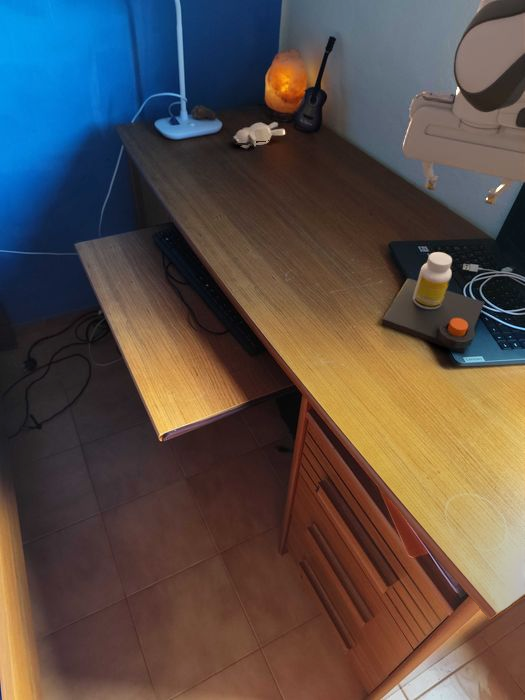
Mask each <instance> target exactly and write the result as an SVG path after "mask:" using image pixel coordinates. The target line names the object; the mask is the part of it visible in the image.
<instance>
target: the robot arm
mask: <svg viewBox="0 0 525 700" xmlns="http://www.w3.org/2000/svg"><path fill="white" fill-rule="evenodd" d="M453 76H454V80H455V83H456V88H457V89H456V92H455V94H454V93H449V92H448V93H447V92H436V91H434V90H424V91H423V92H420V93H418V94H416V95H415V96H414V97H413V98H412V101H411V102H410V107H409V113H408V115H409V119H410V122H409V124H408V127H407V130H406V134H405V136H404V140H403V144H402V147H401V150H402V152H403V155H404V156H405V157H406V158H408V159H412V160H418V161H422V164H421V169H422V172H423V175H424V176H425V183H424V187H423V188H424V189H425V190H431V191H435V188H436V187H437V186H438V181H439V175H435V173H434V170H433V166H434V165H435V164H437V165H442V166H446V167H450V168H455V169H460V170H465V171H470V172H475V173H479V174H484V175H488V176H493V177H497V178H501V181H500V185H499V186H498V187H497V188H493V187H491V188H490V189H489V191H488V193H487V196H486V199H485V201H484V203H486V204H489V205H492V206H493V205H494V206H496V204H497V202H498V200H499V197H500V195H502V194H503V193H504V192H505V191H506V190H508V189H509V188H510V187H511V186H512V184H513V182H514V181H515V182H521V183H525V0H480V2H479V5H478V9H477V13H476V14H475V15H474V16H473V18H472V19H471V21H470V22H469V24H468V25H467V27H466V28H465V30H464V31H463V33H462V35H461V36H460V39H459V42H458V43H457V47H456V50H455V52H454V58H453Z"/></svg>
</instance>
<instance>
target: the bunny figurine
mask: <svg viewBox="0 0 525 700" xmlns="http://www.w3.org/2000/svg"><path fill="white" fill-rule="evenodd" d="M278 127H279V123H278V122H277V121H273V122H271V123H270V124H268V125H267V124H265V123H263V122H256V123H254V124H252V125H251V126H250V127H243V128H242V129H239V130H238V131H237V132H236V134H235V135H234V136H233V140H234V139H235V140H236V141H237V143H247V142H251V143H252V144H253V145H254V146H253V145H252V144H251V143H250V144H248V145H242V146H241V148H243V149H248V148H250V147H251V146H252V147H257V146H263V145H266V144H268V143H269V142H270V140H271V138H272V136H284V135H286V130H285V128H278ZM276 128H277V129H276ZM268 140H269V141H268ZM256 141H266V142H258V143H256ZM237 143H236V144H237ZM256 145H257V146H256Z"/></svg>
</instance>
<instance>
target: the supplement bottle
mask: <svg viewBox="0 0 525 700" xmlns="http://www.w3.org/2000/svg"><path fill="white" fill-rule="evenodd" d="M452 263H453V258H452V256H451V255H449V254H447V253H445V252H441V251H436V252H432V253H430V254H429V255H428V258H427V261H426V262H425V263H424V264H423V265H422V266H421V268H420V271H419V274H418V279H417V280H416V281H417V285H416V288H415V292H414V295H413V300H414V302H415V304H416V305H418V306H419V307H421V308H424V309H436V308H438V307H440V306H441V304H442V302H443V299H444V296H445V293H446V290H447V291H448V287H449V284H450V282H451V278H452V274H453V273H452V269H451V267H452Z"/></svg>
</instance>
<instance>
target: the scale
mask: <svg viewBox="0 0 525 700" xmlns="http://www.w3.org/2000/svg"><path fill="white" fill-rule="evenodd" d="M417 281H418V280H414V279H411V278H409V277H408V278H407V279H406V281H404V284H403V285H402V287H401V289H400V291H398V294H397V296H396V297H395V298H394V300H393V302H392V303H391V305H390V307H389V308H388V310H387V312H386V313H385V315H384V316H383V318H382V321H381V325H382V326H385V327H388V328H390V329H393V330H396V331H399V332H401V333H404V334H407V335H410V336H412V337H416V338H418V339H422V340H424V341H427V342H430V343H432V344H435V345H438V346H441V347H444V348H447V349H450V350H452V351H455V352H458V353H461V354H464V353H465V351H466V349H467V347H468V346H470V345H471V344H472V342H473V339H474V337H475V335H476V331H475V326H476V325H477V322H478V319H479V317H480V315H481V312H482V310H483V307H484V305H485V303H486V302H485V301H483V300H479V299H475V298H473V297H470V296H466V295H463V294H460V293H457V292H454V291H450V290H448V289H447V290H446V293H445V296H444V299H443V302H442V304H441V306H440V307H438V308H436V309H424V308H421V307H419V306H418V305H416V304H415V302H414V300H413V295H414V292H415V288H416V285H417ZM453 318H461V319H463V320H465V321H466V322H467V323H468V328H467V330H466V333H465V335H464V336H462V337H456V336H453V335H451V334H450V333H449V332H448V330H447V329H448V326H449V323H450V321H451V320H452V319H453Z"/></svg>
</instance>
